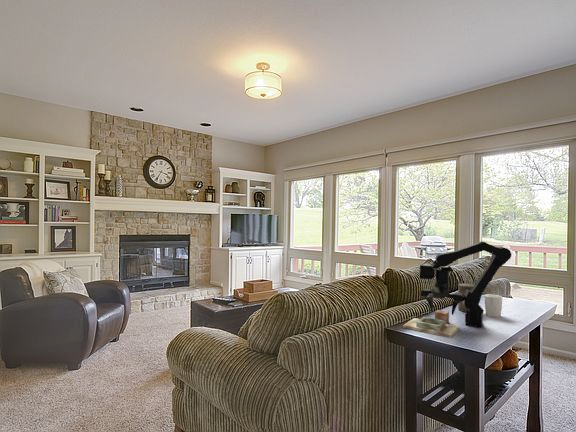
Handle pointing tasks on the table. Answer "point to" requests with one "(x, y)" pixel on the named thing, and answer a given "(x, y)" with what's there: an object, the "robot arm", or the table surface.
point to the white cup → (493, 305)
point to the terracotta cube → (442, 315)
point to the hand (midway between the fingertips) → (442, 313)
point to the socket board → (432, 326)
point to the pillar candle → (462, 290)
